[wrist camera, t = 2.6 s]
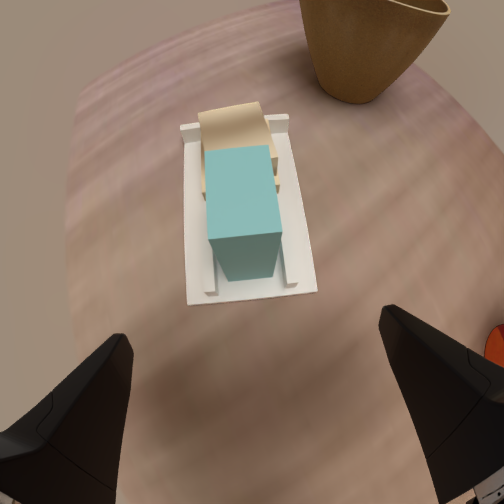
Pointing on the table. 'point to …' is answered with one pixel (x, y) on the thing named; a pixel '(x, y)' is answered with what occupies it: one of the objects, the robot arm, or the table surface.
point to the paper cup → (496, 346)
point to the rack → (292, 241)
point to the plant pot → (367, 41)
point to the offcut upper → (236, 129)
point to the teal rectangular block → (242, 211)
